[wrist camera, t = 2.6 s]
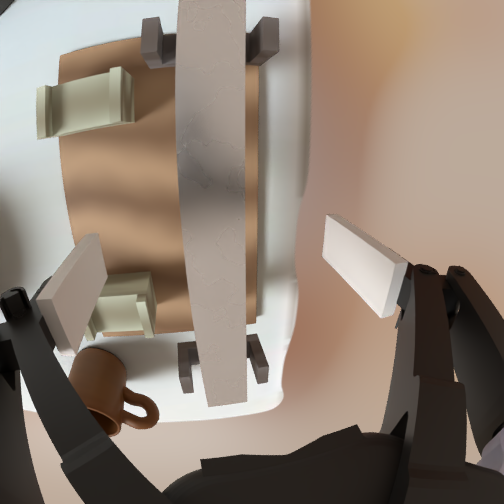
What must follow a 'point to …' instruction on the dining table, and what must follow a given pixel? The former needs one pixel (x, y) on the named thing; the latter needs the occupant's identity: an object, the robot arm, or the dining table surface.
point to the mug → (109, 391)
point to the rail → (214, 186)
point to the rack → (143, 180)
